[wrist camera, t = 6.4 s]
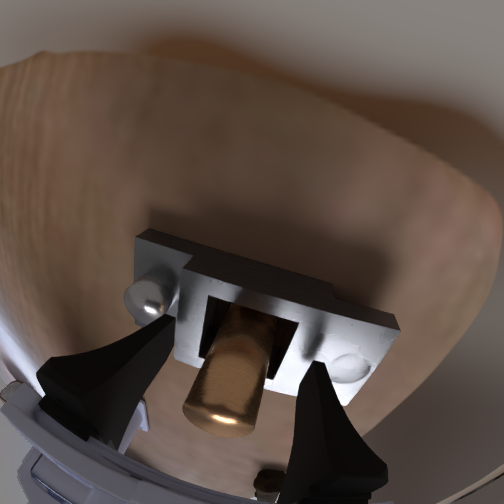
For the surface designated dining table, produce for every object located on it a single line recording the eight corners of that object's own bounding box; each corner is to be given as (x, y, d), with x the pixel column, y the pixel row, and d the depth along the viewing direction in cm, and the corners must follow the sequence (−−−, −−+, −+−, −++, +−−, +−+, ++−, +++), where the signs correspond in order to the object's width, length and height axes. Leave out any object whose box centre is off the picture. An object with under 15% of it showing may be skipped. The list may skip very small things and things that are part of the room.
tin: (19, 385, 41) (2, 404, 34) (12, 376, 40) (-5, 395, 33) (41, 396, 37) (22, 420, 30) (33, 385, 36) (12, 409, 29)
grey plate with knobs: (145, 312, 18) (124, 336, 16) (148, 228, 16) (120, 246, 13) (343, 373, 17) (345, 405, 14) (388, 299, 14) (400, 330, 12)
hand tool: (258, 465, 27) (250, 494, 22) (288, 469, 26) (283, 498, 22) (251, 495, 34) (246, 514, 30) (273, 498, 33) (268, 518, 29)
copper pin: (226, 322, 17) (181, 423, 10) (235, 284, 16) (183, 388, 9) (271, 335, 17) (246, 443, 10) (284, 299, 16) (263, 413, 8)
